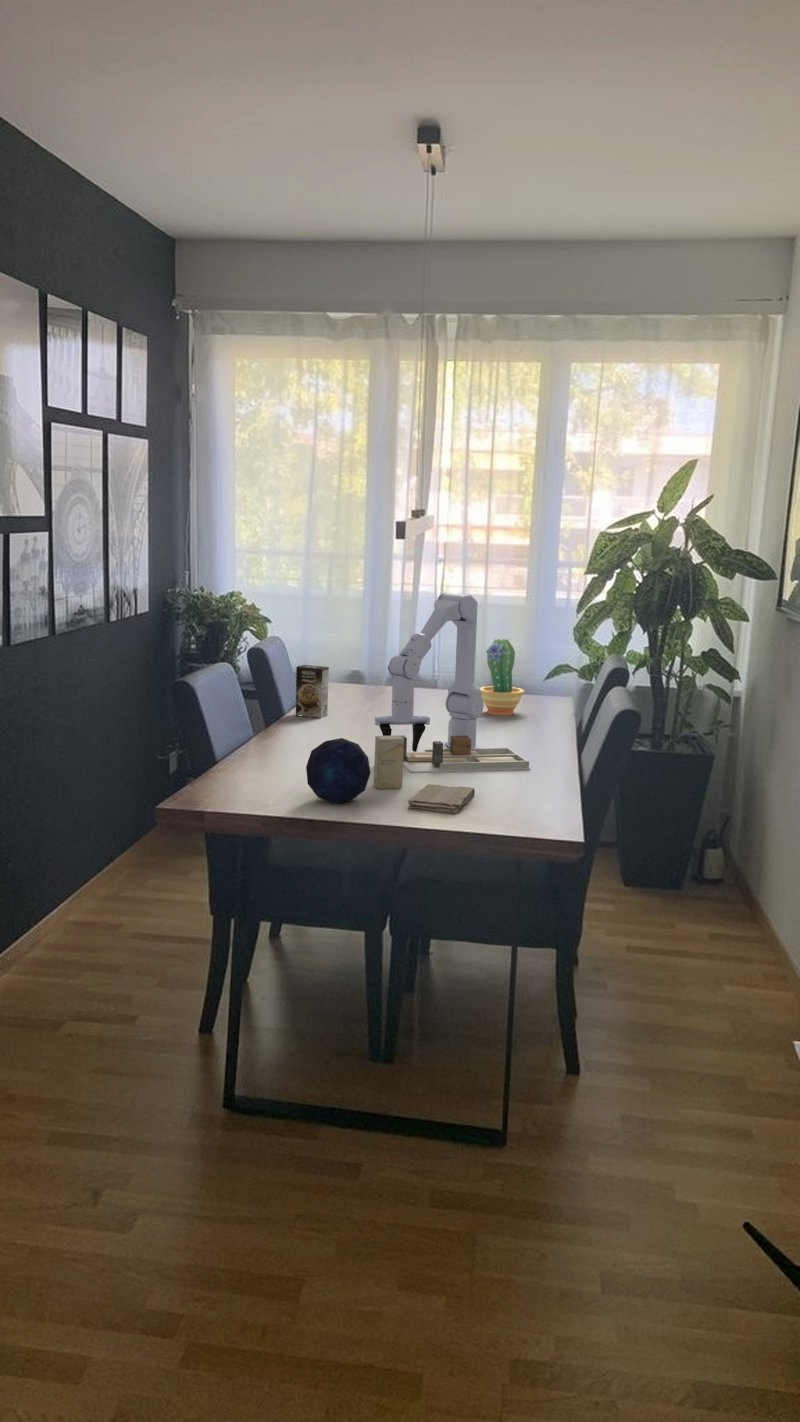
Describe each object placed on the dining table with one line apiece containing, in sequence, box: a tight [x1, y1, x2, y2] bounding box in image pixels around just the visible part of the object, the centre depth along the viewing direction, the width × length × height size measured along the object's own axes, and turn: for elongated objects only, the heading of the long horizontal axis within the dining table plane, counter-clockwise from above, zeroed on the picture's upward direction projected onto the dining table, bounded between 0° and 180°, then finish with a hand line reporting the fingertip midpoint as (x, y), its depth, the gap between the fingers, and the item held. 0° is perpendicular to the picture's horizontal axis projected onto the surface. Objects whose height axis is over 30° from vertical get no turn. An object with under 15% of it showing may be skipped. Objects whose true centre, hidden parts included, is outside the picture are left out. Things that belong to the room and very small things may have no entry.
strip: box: [400, 735, 480, 761], centre depth 277 cm, size 6×22×6 cm, turn 103°
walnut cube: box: [449, 735, 471, 755], centre depth 278 cm, size 4×4×4 cm
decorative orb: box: [305, 737, 371, 804], centre depth 234 cm, size 14×15×15 cm
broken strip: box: [432, 740, 517, 766], centre depth 271 cm, size 6×22×6 cm, turn 102°
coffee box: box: [295, 664, 330, 719], centre depth 334 cm, size 9×6×16 cm
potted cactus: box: [479, 638, 525, 716], centre depth 347 cm, size 15×15×25 cm
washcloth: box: [407, 783, 476, 815], centre depth 236 cm, size 12×18×3 cm, turn 164°
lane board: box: [403, 746, 531, 774], centre depth 275 cm, size 18×32×2 cm, turn 102°
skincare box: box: [373, 735, 404, 790], centre depth 247 cm, size 6×4×12 cm
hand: (401, 751), depth 275 cm, fingers open, 6 cm apart
